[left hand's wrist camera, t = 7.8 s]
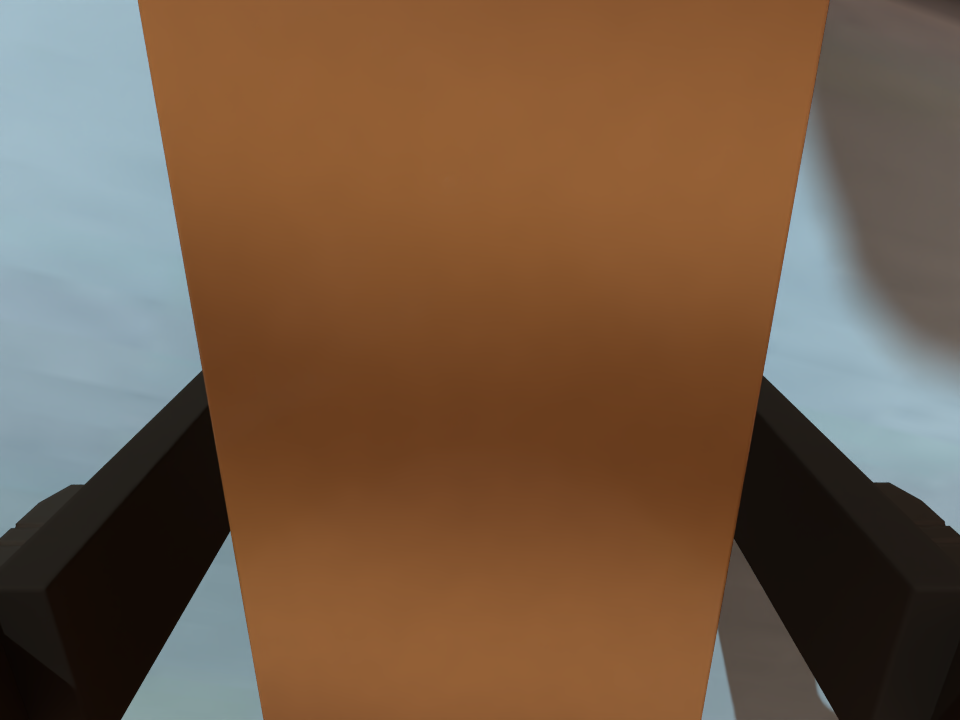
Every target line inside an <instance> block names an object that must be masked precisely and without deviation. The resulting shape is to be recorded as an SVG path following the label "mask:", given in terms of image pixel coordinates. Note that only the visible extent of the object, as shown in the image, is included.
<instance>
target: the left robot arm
mask: <svg viewBox="0 0 960 720" xmlns="http://www.w3.org/2000/svg"><path fill="white" fill-rule="evenodd" d="M229 532H230V525H229V519H228V513H227V508H226V502H225V496H224V491H223V485H222V479H221V473H220V468H219V462H218V456H217V451H216V445H215V439H214V433H213V428H212V422H211V416H210V411H209V405H208V399H207V393H206V388H205V382H204V376H203V371H201V372H200V373H199V374H198V375H197V376H196V377H195V378H194V379H193V380H192V381H191V382H190V383H189V384H188V385H187V386H186V387H185V388H184V389H183V390H182V391H181V392H179V393H178V394H177V395H176V396H175V397H174V398H173V399H172V400H171V401H170V402H169V403H168V404H167V405H166V406H165V407H164V408H163V409H162V410H161V411H160V412H159V413H158V414H157V415H156V416H155V417H154V418H153V419H152V420H151V421H150V422H149V423H148V424H147V425H146V426H145V427H143V428H142V429H141V430H140V431H139V432H138V433H137V434H136V435H135V436H134V437H133V438H132V439H131V440H130V441H129V442H128V443H127V444H126V445H125V446H124V447H123V448H122V449H121V450H120V451H119V452H118V453H117V454H116V455H115V456H114V457H113V458H112V459H111V460H110V461H109V462H107V463H106V464H105V465H104V466H103V467H102V468H101V469H100V470H99V471H98V472H97V473H96V474H95V475H94V476H93V477H92V478H91V479H90V480H89V481H88V482H87V483H86V484H85V485H70V486H68V487H66V488H64V489H63V490H61V491H59V492H57V493H56V494H54V495H52V496H50V497H48V498H47V499H45V500H43V501H41V502H39V503H38V504H37V505H36V506H35V507H34V508H33V509H32V510H31V511H29V512H28V513H27V514H26V515H25V516H24V517H23V518H22V519H21V520H20V521H18V522H17V523H16V527H15V528H11V529H10V530H9V531H8V532H6V533H5V534H4V535H3V536H2V537H1V538H0V720H121V719H122V717H123V715H124V713H125V712H126V710H127V708H128V707H129V705H130V703H131V701H132V700H133V698H134V696H135V694H136V693H137V691H138V689H139V688H140V686H141V684H142V682H143V681H144V679H145V677H146V675H147V674H148V672H149V670H150V669H151V667H152V665H153V663H154V662H155V660H156V658H157V657H158V655H159V653H160V651H161V650H162V648H163V646H164V644H165V643H166V641H167V639H168V638H169V636H170V634H171V632H172V631H173V629H174V627H175V625H176V624H177V622H178V620H179V619H180V617H181V615H182V613H183V612H184V610H185V608H186V606H187V605H188V603H189V601H190V600H191V598H192V596H193V594H194V593H195V591H196V589H197V588H198V586H199V584H200V582H201V581H202V579H203V577H204V575H205V574H206V572H207V570H208V569H209V567H210V565H211V563H212V562H213V560H214V558H215V556H216V555H217V553H218V551H219V550H220V548H221V546H222V544H223V543H224V541H225V539H226V538H227V536H228V534H229ZM734 539H735V541H736V543H737V544H738V546H739V548H740V550H741V551H742V553H743V555H744V557H745V558H746V560H747V562H748V563H749V565H750V567H751V569H752V570H753V572H754V574H755V575H756V577H757V579H758V581H759V582H760V584H761V586H762V588H763V589H764V591H765V593H766V594H767V596H768V598H769V600H770V601H771V603H772V605H773V607H774V608H775V610H776V612H777V613H778V615H779V617H780V619H781V620H782V622H783V624H784V625H785V627H786V629H787V631H788V632H789V634H790V636H791V638H792V639H793V641H794V643H795V644H796V646H797V648H798V650H799V651H800V653H801V655H802V657H803V658H804V660H805V662H806V663H807V665H808V667H809V669H810V670H811V672H812V674H813V676H814V677H815V679H816V681H817V682H818V684H819V686H820V688H821V689H822V691H823V693H824V694H825V696H826V698H827V700H828V701H829V703H830V705H831V707H832V708H833V710H834V712H835V713H836V715H837V717H838V719H839V720H960V535H959V534H958V533H957V532H956V531H955V530H954V529H952V528H951V527H950V526H946V525H945V521H944V520H943V519H941V518H940V517H939V516H938V515H937V514H936V513H935V512H934V511H933V510H932V509H930V508H929V507H928V506H927V505H926V504H925V503H924V502H923V501H922V500H920V499H918V498H916V497H914V496H913V495H911V494H909V493H907V492H905V491H904V490H902V489H900V488H898V487H896V486H895V485H893V484H891V483H873V482H872V481H871V480H870V479H869V478H868V477H867V476H866V475H865V474H864V473H863V472H862V471H861V470H860V469H859V468H858V467H857V466H856V465H855V464H854V463H852V462H851V461H850V460H849V459H848V458H847V457H846V456H845V455H844V454H843V453H842V452H841V451H840V450H839V449H838V448H837V447H836V446H835V445H834V444H833V443H832V442H831V441H830V440H829V439H828V438H827V437H826V436H825V435H824V434H823V433H822V432H821V431H820V430H819V429H818V428H816V427H815V426H814V425H813V424H812V423H811V422H810V421H809V420H808V419H807V418H806V417H805V416H804V415H803V414H802V413H801V412H800V411H799V410H798V409H797V408H796V407H795V406H794V405H793V404H792V403H791V402H790V401H789V400H788V399H787V398H786V397H785V396H784V395H783V394H782V393H781V392H779V391H778V390H777V389H776V388H775V387H774V386H773V385H772V384H771V383H770V382H769V381H768V380H767V379H766V378H765V377H764V376H762V382H761V388H760V393H759V399H758V404H757V410H756V416H755V421H754V427H753V432H752V438H751V444H750V449H749V455H748V460H747V466H746V472H745V477H744V483H743V488H742V494H741V500H740V505H739V511H738V516H737V522H736V527H735V533H734Z"/></svg>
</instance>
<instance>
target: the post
mask: <svg viewBox="0 0 960 720" xmlns="http://www.w3.org/2000/svg"><path fill="white" fill-rule="evenodd" d="M829 1H830V0H138V5H139V10H140V16H141V22H142V27H143V33H144V39H145V45H146V50H147V56H148V62H149V68H150V73H151V79H152V85H153V90H154V96H155V102H156V108H157V113H158V119H159V125H160V130H161V136H162V142H163V148H164V153H165V159H166V165H167V170H168V176H169V182H170V188H171V193H172V199H173V205H174V210H175V216H176V222H177V228H178V233H179V239H180V245H181V250H182V256H183V262H184V268H185V273H186V279H187V285H188V290H189V296H190V302H191V308H192V313H193V319H194V325H195V331H196V336H197V342H198V348H199V353H200V359H201V365H202V371H203V376H204V382H205V388H206V393H207V399H208V405H209V411H210V416H211V422H212V428H213V433H214V439H215V445H216V451H217V456H218V462H219V468H220V473H221V479H222V485H223V491H224V496H225V502H226V508H227V513H228V519H229V525H230V531H231V536H232V542H233V548H234V553H235V559H236V565H237V571H238V576H239V582H240V588H241V594H242V599H243V605H244V611H245V616H246V622H247V628H248V634H249V639H250V645H251V651H252V656H253V662H254V668H255V674H256V679H257V685H258V691H259V696H260V702H261V708H262V714H263V719H264V720H701V718H702V712H703V707H704V701H705V695H706V690H707V684H708V679H709V673H710V667H711V662H712V656H713V651H714V645H715V639H716V634H717V628H718V623H719V617H720V611H721V606H722V600H723V595H724V589H725V583H726V578H727V572H728V567H729V561H730V555H731V550H732V544H733V539H734V533H735V527H736V522H737V516H738V511H739V505H740V500H741V494H742V488H743V483H744V477H745V472H746V466H747V460H748V455H749V449H750V444H751V438H752V432H753V427H754V421H755V416H756V410H757V404H758V399H759V393H760V388H761V382H762V376H763V371H764V365H765V360H766V354H767V348H768V343H769V337H770V332H771V326H772V320H773V315H774V309H775V304H776V298H777V292H778V287H779V281H780V276H781V270H782V264H783V259H784V253H785V248H786V242H787V236H788V231H789V225H790V220H791V214H792V209H793V203H794V197H795V192H796V186H797V181H798V175H799V169H800V164H801V158H802V153H803V147H804V141H805V136H806V130H807V125H808V119H809V113H810V108H811V102H812V97H813V91H814V85H815V80H816V74H817V69H818V63H819V57H820V52H821V46H822V41H823V35H824V29H825V24H826V18H827V13H828V7H829Z"/></svg>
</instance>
